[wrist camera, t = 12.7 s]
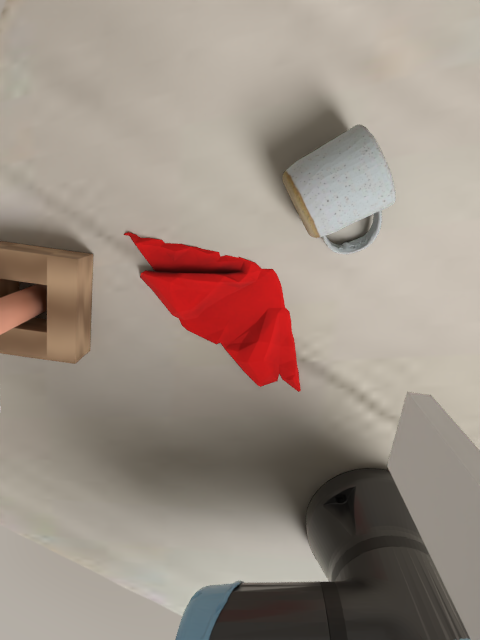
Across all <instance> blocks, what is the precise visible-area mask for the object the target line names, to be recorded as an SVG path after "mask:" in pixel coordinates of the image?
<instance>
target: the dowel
mask: <svg viewBox="0 0 480 640" xmlns="http://www.w3.org/2000/svg"><path fill="white" fill-rule="evenodd" d="M46 310H47V285H42V284H35V285H33V286H30V287H27V288H25V289H22V290H20V291H17V292H15V293H12V294H9V295H7V296H4V297H2V298H0V335H1V334H3V333H5V332H7V331H9V330H11V329H12V328H14V327H16V326H18V325H20V324H22V323H24V322H26V321H28V320H29V319H31V318H33V317H35V316H37V315H39V314H41V313H43V312H45V311H46Z"/></svg>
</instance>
